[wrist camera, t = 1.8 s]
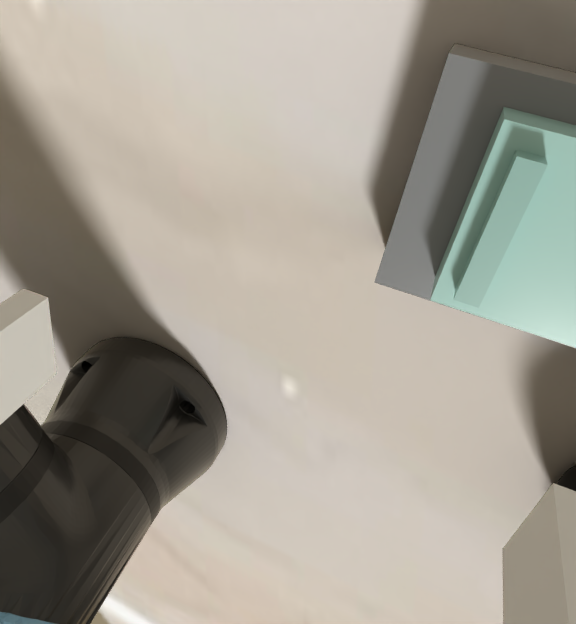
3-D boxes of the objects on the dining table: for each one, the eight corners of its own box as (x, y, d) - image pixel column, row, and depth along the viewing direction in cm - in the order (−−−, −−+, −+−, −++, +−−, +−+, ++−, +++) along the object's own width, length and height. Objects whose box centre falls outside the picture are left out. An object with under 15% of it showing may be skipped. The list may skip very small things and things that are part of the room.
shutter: (434, 277, 28) (427, 310, 25) (503, 106, 23) (504, 125, 20) (586, 325, 27) (597, 366, 24) (697, 156, 22) (726, 183, 19)
